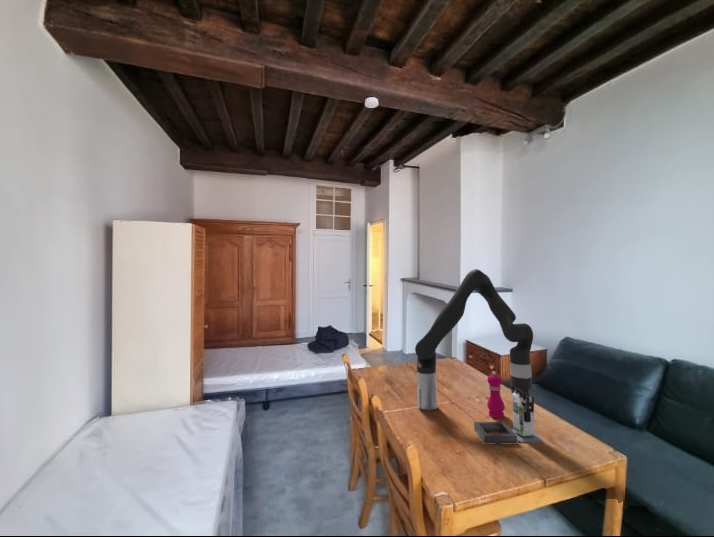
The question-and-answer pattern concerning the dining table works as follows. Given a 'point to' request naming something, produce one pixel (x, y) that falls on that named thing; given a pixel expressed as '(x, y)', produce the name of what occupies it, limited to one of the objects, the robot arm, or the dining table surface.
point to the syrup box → (521, 417)
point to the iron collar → (495, 438)
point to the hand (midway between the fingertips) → (523, 417)
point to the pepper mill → (495, 397)
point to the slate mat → (527, 438)
